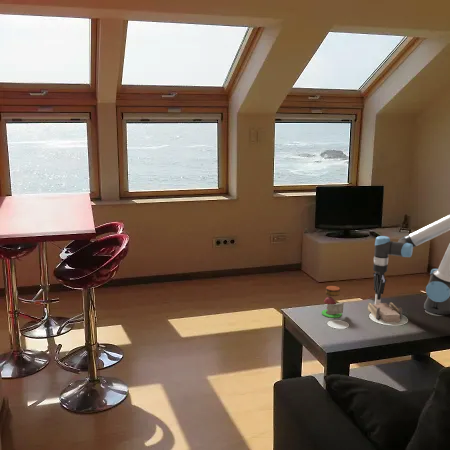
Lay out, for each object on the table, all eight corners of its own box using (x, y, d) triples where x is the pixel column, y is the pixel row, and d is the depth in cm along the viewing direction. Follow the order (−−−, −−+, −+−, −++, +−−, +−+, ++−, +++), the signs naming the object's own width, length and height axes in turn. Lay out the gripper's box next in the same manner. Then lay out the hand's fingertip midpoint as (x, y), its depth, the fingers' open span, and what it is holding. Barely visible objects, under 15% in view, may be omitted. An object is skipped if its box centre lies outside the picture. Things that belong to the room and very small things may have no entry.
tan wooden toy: (391, 309, 276) (392, 299, 274) (401, 318, 263) (402, 308, 261) (367, 309, 275) (368, 299, 273) (376, 319, 262) (377, 308, 260)
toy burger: (314, 313, 269) (316, 287, 266) (330, 308, 276) (331, 283, 273) (331, 320, 260) (333, 293, 257) (347, 315, 267) (349, 288, 264)
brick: (400, 322, 259) (401, 313, 258) (385, 323, 258) (386, 314, 257) (385, 310, 275) (386, 302, 274) (371, 311, 274) (372, 303, 273)
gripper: (369, 260, 279) (367, 300, 284) (378, 267, 266) (375, 308, 271) (382, 260, 280) (379, 299, 285) (391, 267, 267) (388, 308, 272)
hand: (377, 304), depth 278 cm, fingers closed
